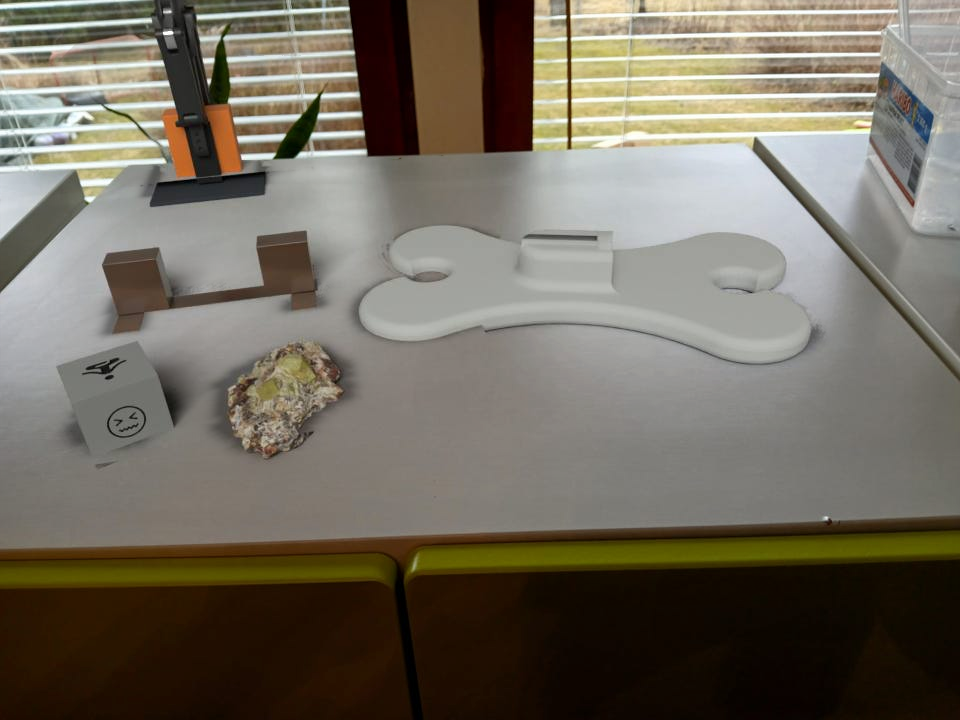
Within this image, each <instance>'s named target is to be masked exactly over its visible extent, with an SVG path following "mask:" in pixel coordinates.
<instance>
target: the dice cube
mask: <svg viewBox="0 0 960 720" xmlns="http://www.w3.org/2000/svg"><path fill="white" fill-rule="evenodd" d="M55 367H56V370H57V372H58V375H59V378H60V380H61V383H62V386H63V387H64V390H65V393H66V395H67V398H68V400H69V403H70V406H71V407H72V408H71V409H72V410H73V413H74V415H75V419H76V420H77V424H78V426H79V428H80V431H81V433H82V435H83V438H84V440H85V443H86V446H87V448H88V451H89V453H90V456H91V458H95V457H98V456H100V455H103V454H106V453H109V452H112V451H114V450H117V449H119V448H123V447H125V446H128V445H131V444H133V443H136V442H139V441H142V440H144V439H147V438H149V437H152V436H155V435H158V434H161V433H163V432H166V431H169V430H171V429H174V428H175V426H174V422H173V419H172V416H171V413H170V410H169V407H168V403H167V400H166V397H165V394H164V391H163V387H162V384H161V382H160V378H159V375H158V373H157V372H156V369H155V368H154V366H153V365H152V363H151V362H150V359H149V358H148V356H147V354H146V353H145V351H144V349H143V348H142V346H141V345H140V343H139V341H138V340H135V341H132V342H129V343H125V344H123V345H119V346H116V347H112V348H110V349H106V350H103V351H100V352H97V353H93V354H90V355H87V356H84V357H81V358H80V357H79V358H77V359H74V360H71V361H68V362H65V363H61V364H58V365H56V366H55ZM117 462H118V460H117V461H110V462H103V463H97V464H94V465H95V469H96V470H98V469H101V468H104V467H106V466H109V465H112V464H115V463H117Z"/></svg>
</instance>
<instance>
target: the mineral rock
mask: <svg viewBox="0 0 960 720" xmlns="http://www.w3.org/2000/svg"><path fill="white" fill-rule="evenodd" d="M340 378H341V372H340V369H339V368H338V366H337V365H336V363H335V361H334V359H331V358H330V356H329V355H328V354H327V353H326V352H325V350H323V348H322V347H321V346H320V345H319V343H317V341H314V340H304V339H301V340H300V341H299V342H296V341H289V342H287V344H286V345H284V346H279V347H276V348H271V350H270V353H268V354H266V355H264V356H262V357H260V358H259V359H258V360H257V361H256V362H255V363H254V364H253V369H252V371H251V373H250V374H248V375H247V374H245V373H243V374H241V375H240V376H239V377H237V379H236V383H235V384H234V385H230V386H229V387H228V388H226V390H227V391H228V394H227V400H228V401H227V407H229V409H228V411H227V413H226V414H227V418H228V419H229V420H230V422H231V426H230V427H231V428H232V431H234V432H233V433H232V435H233V437H237V438H241V440H242V442H241V444H242V447H244V451H245V452H246V451H247V452H249V453H250V454H251V453H255V452H259V453H260V454H261V457H262V458H263V459H264V460H268V459H270V458H272V457H273V456H274V455H275V454H277V453H278V452H282V451H283V452H288V451H291V450H293V449H295V448H296V447H299V446H301V445H302V444H304V443H303V442H304V441H305V439H307V438H309V437H311V435H312V434H314V430H312V431H306V432H299V431H300V428H301V426H303V423H304V422H305V420H307V419H308V418H309V417H312V415H313V413H317V412H321V411H322V410H323V409H325V407H326V406H327V403H331V402H338V401H340V400H341V399H342V394H343V393H344V392H345V391H344V390H343V388H341V387H339V386H338V385H337V384H336V382H337V381H338V380H340Z"/></svg>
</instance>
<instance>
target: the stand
mask: <svg viewBox="0 0 960 720" xmlns="http://www.w3.org/2000/svg"><path fill="white" fill-rule="evenodd" d="M255 243H256V244H255V248H256V252H257V258H258V263H259V266H260V267H259V268H260V273H261V278H262V282H263V285H257V286H249V287H240V288H233V289H232V288H231V289H226V290H225V289H224V290H217V291H209V292H208V291H207V292H199V293H192V294H184V295H177V296H174V295H173V291H172V287H171V284H170V280H169V277H168V273H167V271H166V267H165V263H164V259H163V256H162V252H161V248H160V247H158V246H157V247H149V248H139V249H131V250H123V251H114V252H106V254H105V256H104V258H103V261H102V263H101V268H102V270H103V274H104V276H105V281H106V282H107V286H108V289H109V291H110V292H109V293H110V294H111V298H112V300H113V303H114V306H115V310H116V314H115V316H116V317H117V319H116V322H115V325H114V327H113V330H112V333H111V334H112V335H120V334H127V333H128V334H129V333H136V332H140V329H141V326H142V323H143V319H144V316H145V314H147V313H154V312H155V313H156V312H163V311H170V310H179V309H186V308H187V309H188V308H194V307H202V306H210V305H211V306H212V305H217V304H227V303H233V302H241V301H249V300H257V299H258V300H259V299H265V298H266V299H267V298H273V297H274V298H275V297H281V296H282V297H283V296H289V295H291V296H290V299H291V301H290V302H291V303H290V304H291V312H297V311H298V312H299V311H305V310H314V309H317V308H318V306H317V292H318V291H319V286H318V279H317V278H316V277H315V265H314V264H313V261H312V255H311V249H310V244H309V237H308V231H307V230H298V231H290V232H281V233H272V234H271V233H270V234H264V235H257V236H256V241H255Z"/></svg>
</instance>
